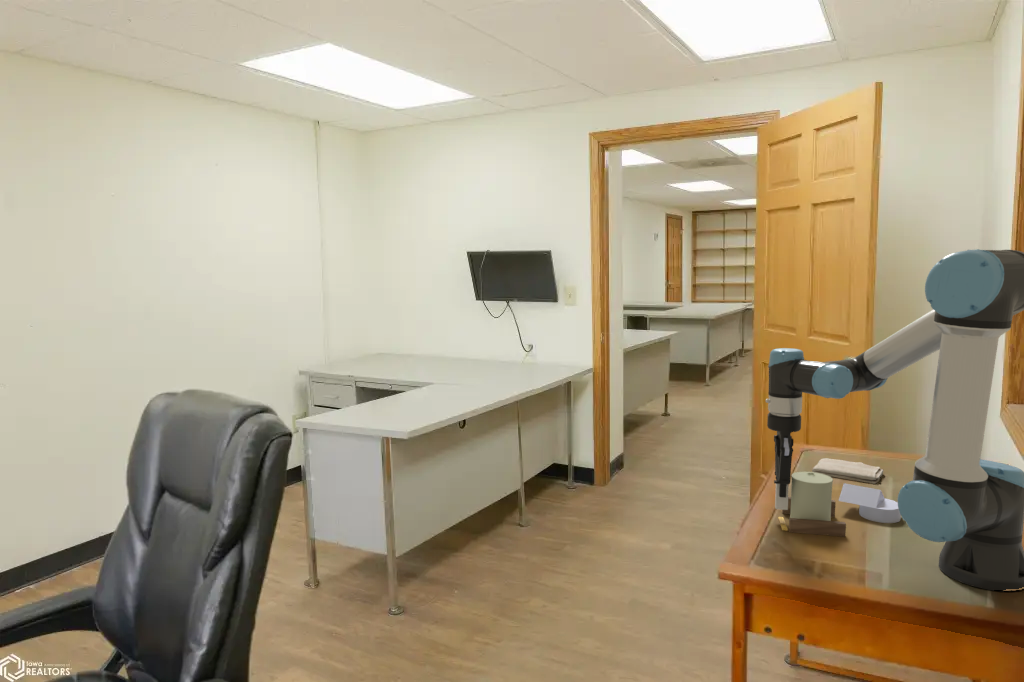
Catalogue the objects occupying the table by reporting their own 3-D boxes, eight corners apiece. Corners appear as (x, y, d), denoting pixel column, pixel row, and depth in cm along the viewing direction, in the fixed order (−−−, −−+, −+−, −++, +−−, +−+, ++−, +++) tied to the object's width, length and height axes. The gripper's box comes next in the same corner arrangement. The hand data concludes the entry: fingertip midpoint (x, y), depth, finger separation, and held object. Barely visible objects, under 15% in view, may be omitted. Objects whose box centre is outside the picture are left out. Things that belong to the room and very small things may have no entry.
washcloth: (878, 486, 193) (879, 475, 192) (810, 475, 203) (810, 465, 203) (884, 475, 202) (884, 465, 202) (819, 465, 213) (819, 455, 212)
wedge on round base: (837, 513, 171) (896, 526, 163) (838, 487, 170) (897, 498, 162) (847, 503, 178) (903, 515, 170) (848, 478, 177) (905, 488, 169)
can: (827, 518, 168) (829, 471, 166) (834, 532, 159) (836, 482, 158) (787, 515, 170) (789, 468, 169) (791, 528, 162) (793, 479, 160)
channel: (845, 536, 157) (846, 519, 156) (782, 531, 160) (783, 514, 160) (833, 515, 169) (834, 500, 169) (775, 511, 173) (776, 495, 172)
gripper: (764, 406, 170) (762, 498, 173) (770, 418, 158) (768, 516, 160) (797, 408, 169) (793, 500, 171) (805, 419, 156) (802, 519, 159)
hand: (781, 508), depth 166 cm, fingers closed
